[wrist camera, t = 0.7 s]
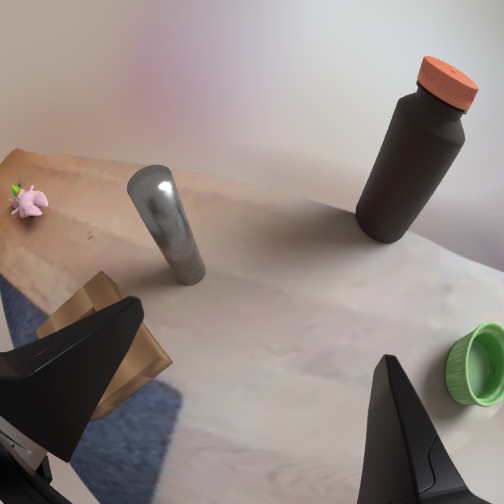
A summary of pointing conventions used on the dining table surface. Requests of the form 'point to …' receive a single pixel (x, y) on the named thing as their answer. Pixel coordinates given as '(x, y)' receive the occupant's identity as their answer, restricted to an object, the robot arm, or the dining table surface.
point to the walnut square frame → (137, 358)
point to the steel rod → (167, 221)
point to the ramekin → (477, 366)
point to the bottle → (416, 150)
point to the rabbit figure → (27, 201)
